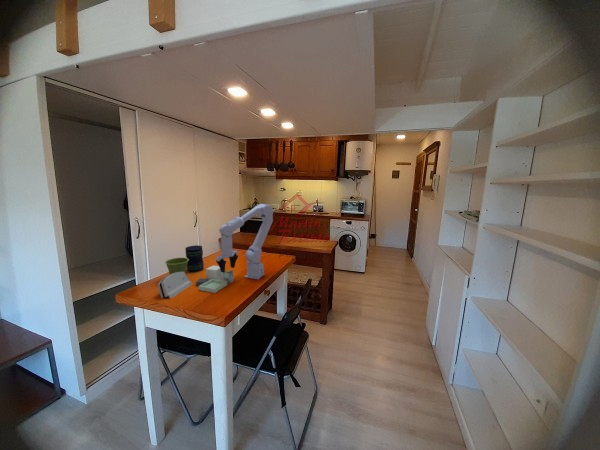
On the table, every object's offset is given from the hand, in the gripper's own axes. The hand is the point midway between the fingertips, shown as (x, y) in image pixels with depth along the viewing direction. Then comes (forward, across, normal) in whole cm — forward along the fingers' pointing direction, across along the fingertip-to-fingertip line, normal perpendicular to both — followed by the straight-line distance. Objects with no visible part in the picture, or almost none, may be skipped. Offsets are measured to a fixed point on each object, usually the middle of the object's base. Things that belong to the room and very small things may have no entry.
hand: (227, 269), depth 125 cm
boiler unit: (+7, -1, +9) cm, 11 cm away
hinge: (+8, -20, +17) cm, 27 cm away
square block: (+7, -9, +10) cm, 16 cm away
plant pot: (+7, -10, +28) cm, 31 cm away
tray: (+7, -9, +2) cm, 12 cm away
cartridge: (+7, 0, 0) cm, 7 cm away
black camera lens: (+7, +4, +32) cm, 33 cm away
